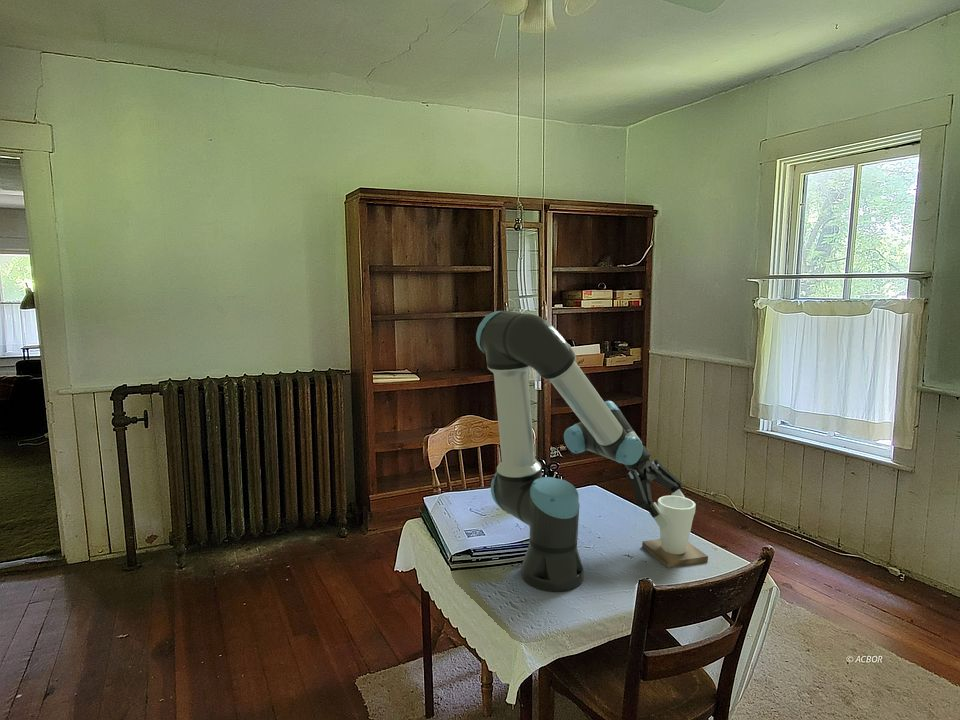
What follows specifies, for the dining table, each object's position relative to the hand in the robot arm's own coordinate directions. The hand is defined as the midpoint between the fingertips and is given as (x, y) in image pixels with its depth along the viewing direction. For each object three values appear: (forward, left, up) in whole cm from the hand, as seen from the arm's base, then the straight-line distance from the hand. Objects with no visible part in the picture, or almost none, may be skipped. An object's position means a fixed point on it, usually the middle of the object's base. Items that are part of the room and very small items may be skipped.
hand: (678, 519), depth 159 cm
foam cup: (-1, 0, -8) cm, 8 cm away
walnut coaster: (-1, 0, -10) cm, 10 cm away
